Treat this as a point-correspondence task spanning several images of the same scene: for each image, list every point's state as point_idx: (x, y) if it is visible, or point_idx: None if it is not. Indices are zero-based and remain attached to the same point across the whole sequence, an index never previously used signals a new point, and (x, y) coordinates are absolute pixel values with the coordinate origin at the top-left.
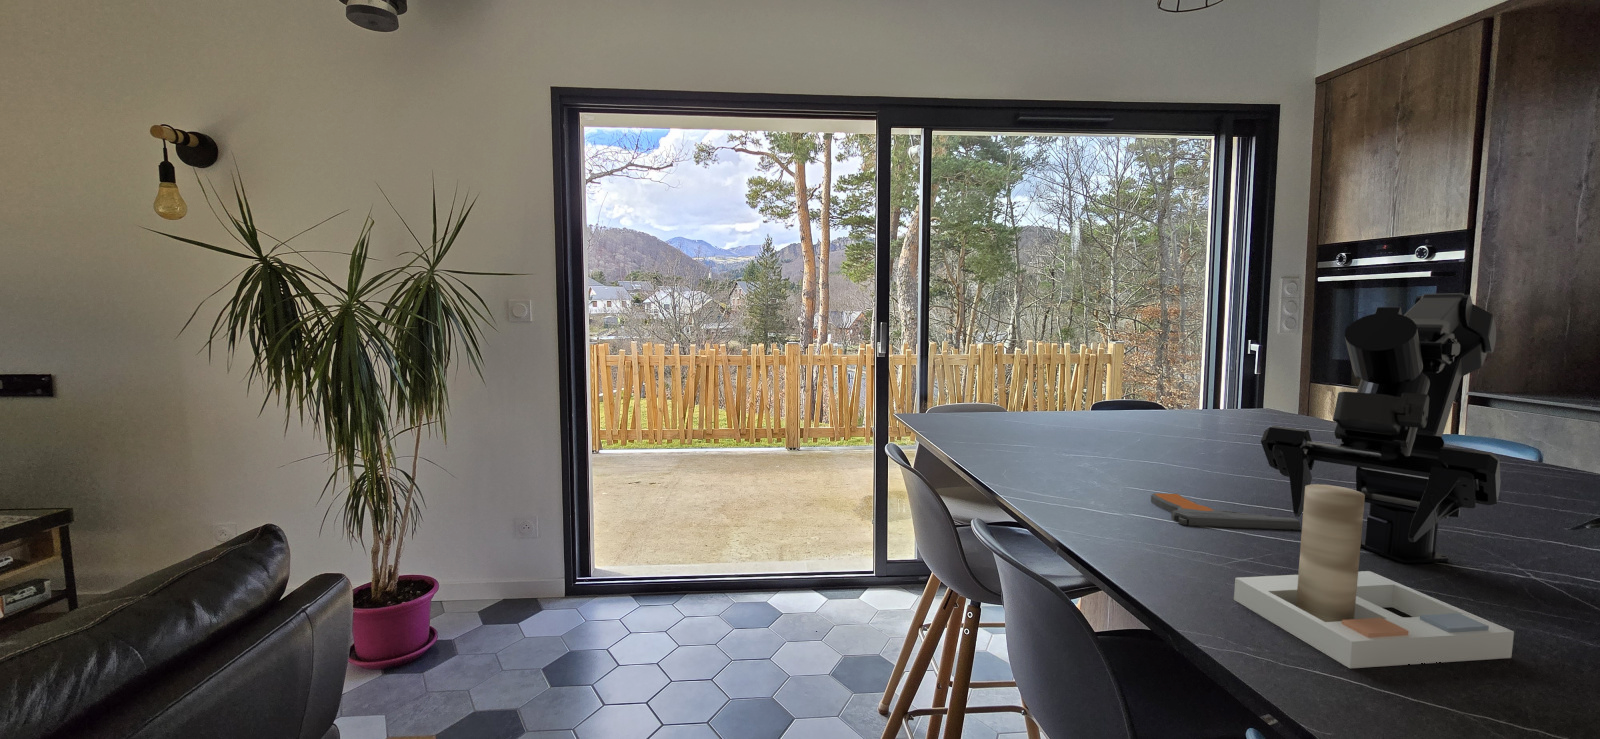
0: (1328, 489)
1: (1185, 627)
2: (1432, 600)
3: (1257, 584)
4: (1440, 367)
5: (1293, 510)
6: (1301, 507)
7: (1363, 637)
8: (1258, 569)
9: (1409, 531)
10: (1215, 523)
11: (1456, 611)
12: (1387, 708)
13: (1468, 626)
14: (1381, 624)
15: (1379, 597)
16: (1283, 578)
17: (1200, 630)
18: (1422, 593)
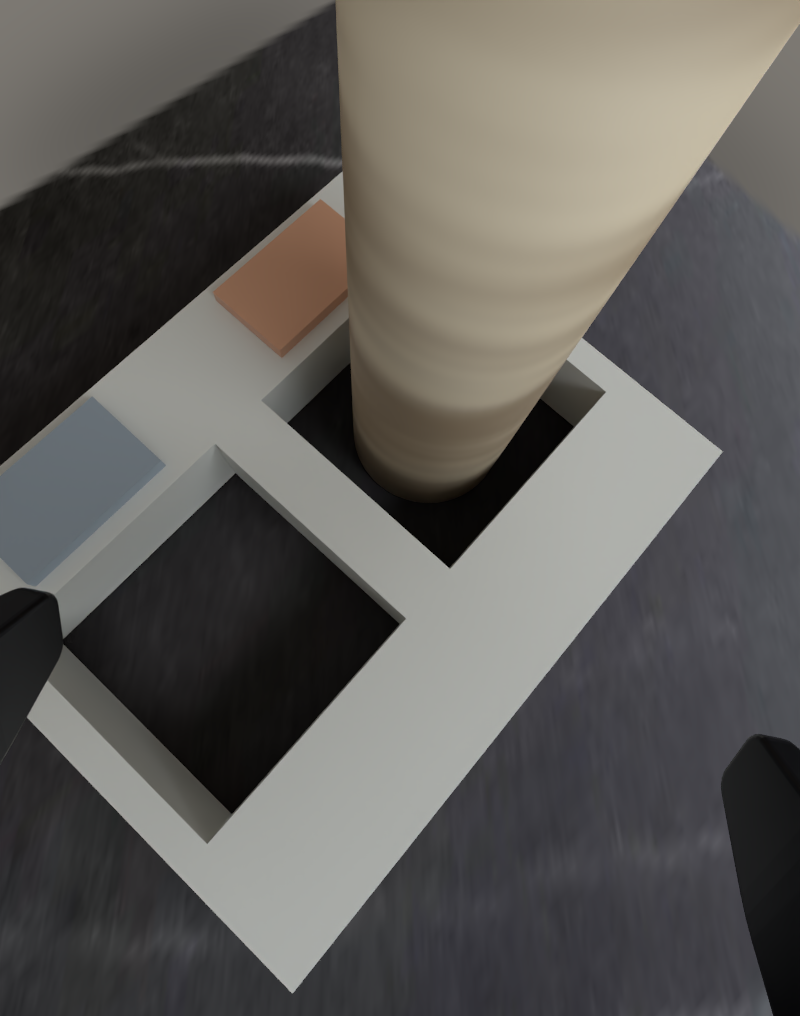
0: None
1: (714, 198)
2: (88, 726)
3: (646, 432)
4: None
5: (791, 743)
6: (767, 840)
7: (331, 204)
8: (689, 908)
9: (29, 612)
10: None
11: None
12: (292, 89)
13: (26, 456)
14: (282, 290)
15: (268, 773)
16: (587, 570)
17: (681, 205)
18: (111, 797)
